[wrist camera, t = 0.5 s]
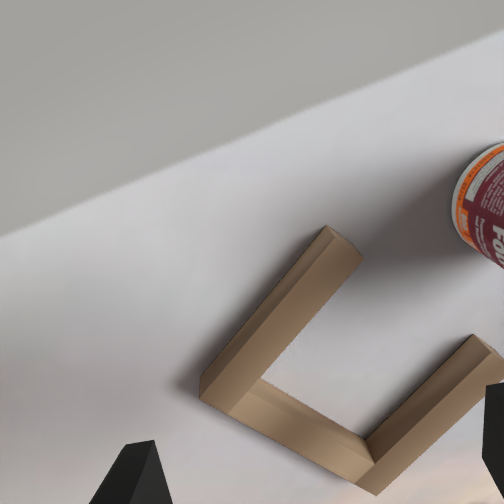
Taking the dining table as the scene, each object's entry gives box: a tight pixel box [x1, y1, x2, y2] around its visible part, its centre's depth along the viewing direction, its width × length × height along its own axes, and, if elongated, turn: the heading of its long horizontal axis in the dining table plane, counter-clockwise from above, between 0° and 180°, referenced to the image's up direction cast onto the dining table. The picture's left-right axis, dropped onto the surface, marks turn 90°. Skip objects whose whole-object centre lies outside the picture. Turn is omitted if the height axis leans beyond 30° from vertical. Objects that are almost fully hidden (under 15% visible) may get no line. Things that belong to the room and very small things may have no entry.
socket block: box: [199, 225, 504, 496], centre depth 20 cm, size 10×9×2 cm
